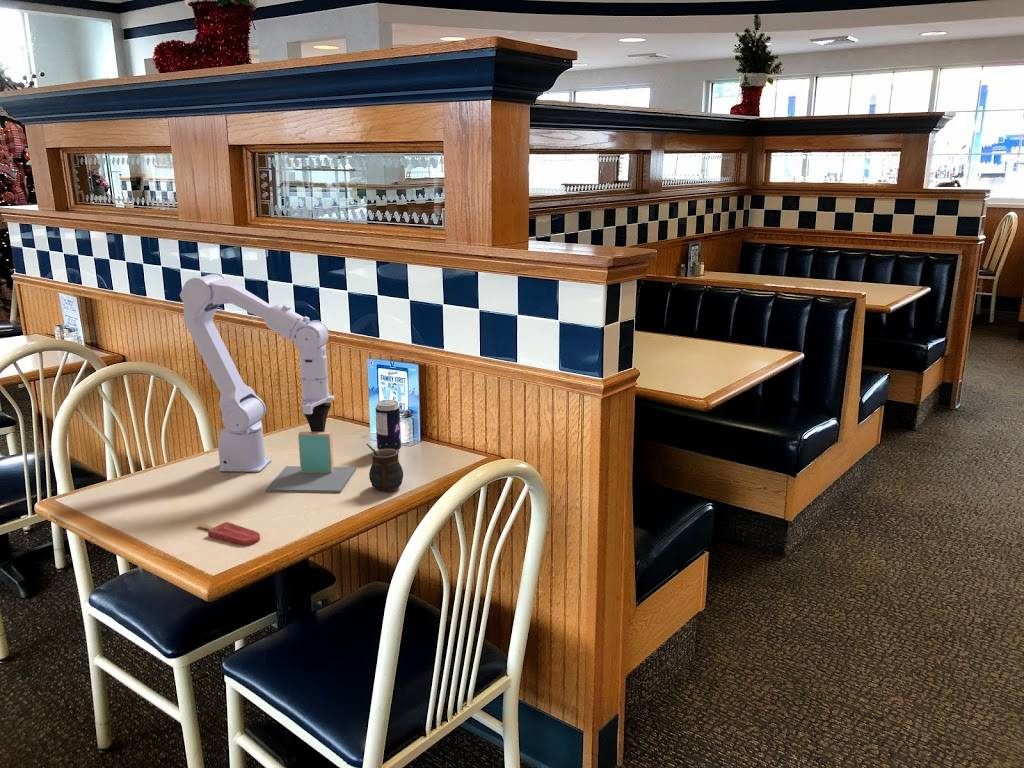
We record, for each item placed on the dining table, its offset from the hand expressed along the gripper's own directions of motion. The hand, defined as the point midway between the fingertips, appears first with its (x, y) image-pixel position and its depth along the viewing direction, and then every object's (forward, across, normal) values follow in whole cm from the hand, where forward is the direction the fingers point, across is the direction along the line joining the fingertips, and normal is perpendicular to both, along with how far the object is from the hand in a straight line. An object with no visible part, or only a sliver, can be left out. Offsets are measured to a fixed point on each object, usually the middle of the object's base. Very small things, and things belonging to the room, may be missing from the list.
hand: (318, 436), depth 183 cm
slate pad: (+8, -6, 0) cm, 10 cm away
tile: (+7, -2, 0) cm, 8 cm away
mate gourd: (+8, -11, -17) cm, 22 cm away
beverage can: (+8, +14, -13) cm, 20 cm away
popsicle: (+9, -34, +8) cm, 36 cm away
